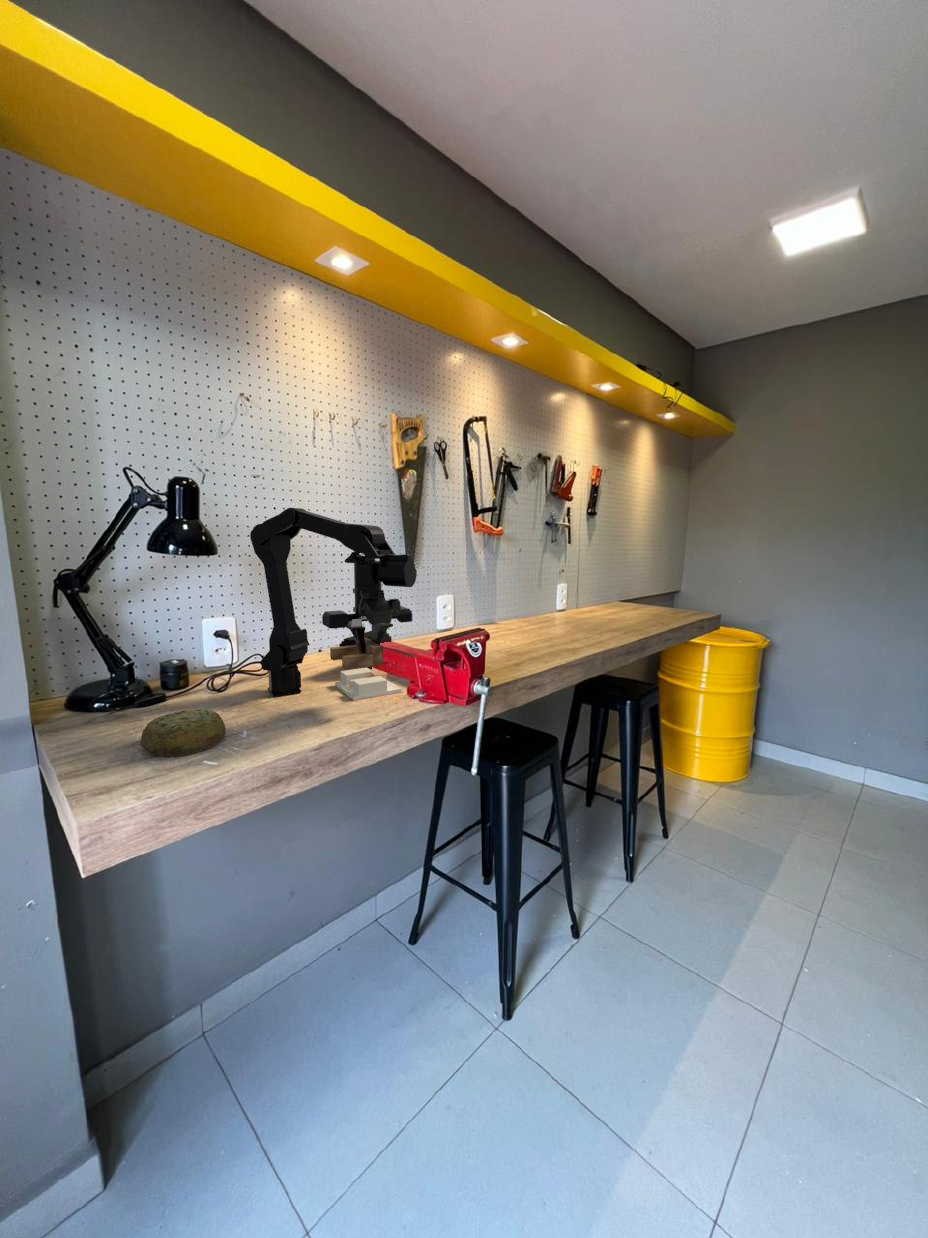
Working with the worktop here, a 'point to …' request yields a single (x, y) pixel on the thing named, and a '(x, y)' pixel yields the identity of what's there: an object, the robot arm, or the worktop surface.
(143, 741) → the olive green pebble
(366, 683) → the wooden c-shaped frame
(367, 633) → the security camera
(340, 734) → the worktop surface
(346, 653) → the wooden c-shaped bracket
